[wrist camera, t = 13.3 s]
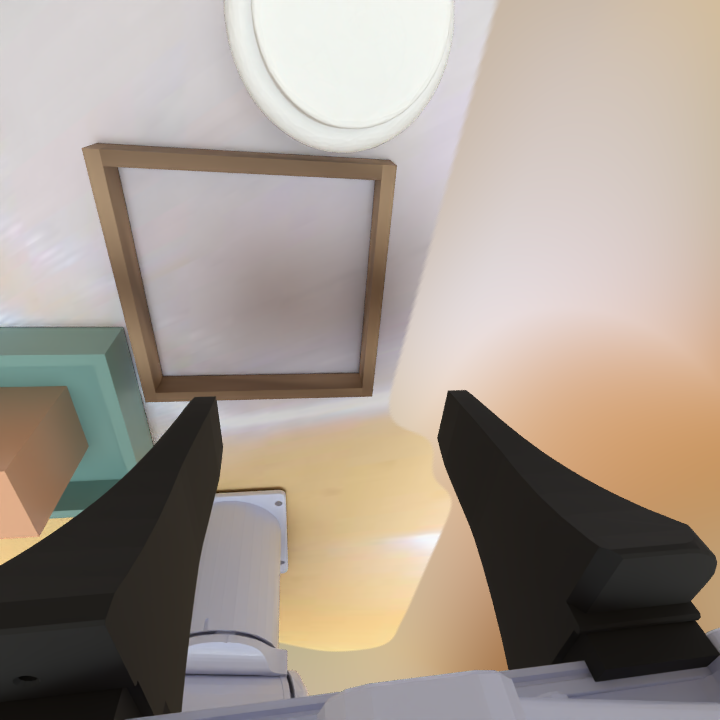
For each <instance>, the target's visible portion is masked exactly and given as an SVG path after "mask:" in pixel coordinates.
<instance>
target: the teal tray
mask: <svg viewBox="0 0 720 720" xmlns="http://www.w3.org/2000/svg"><path fill="white" fill-rule="evenodd" d="M41 386H67V388H68V391H69V393H70V396H71V399H72V402H73V404H74V407H75V410H76V413H77V415H78V418H79V421H80V424H81V426H82V429H83V432H84V435H85V437H86V440H87V443H88V446H89V447H88V449H87V451H86V452H85V454H84V456H83V458H82V460H81V462H80V463H79V465H78V467H77V469H76V471H75V472H74V474H73V476H72V478H71V480H70V482H69V483H68V485H67V487H66V489H65V491H64V492H63V494H62V496H61V498H60V500H59V501H58V503H57V505H56V507H55V509H54V511H53V512H52V514H51V516H50V518H66V517H76V516H77V515H78V514H79V513H81V512H82V511H83V510H85V509H86V508H87V507H89V506H90V505H91V504H92V503H94V502H95V501H96V500H97V499H99V498H100V497H101V496H102V495H104V494H105V493H106V492H107V491H108V490H109V489H110V488H112V487H113V486H114V485H115V484H116V483H117V482H118V481H119V480H120V479H122V478H123V477H124V476H125V475H126V474H127V473H128V472H129V471H130V470H131V469H132V468H133V467H134V466H135V465H136V464H137V463H138V462H139V461H140V460H141V459H142V458H143V457H144V456H145V455H146V454H147V453H148V451H149V450H150V449H151V448H152V447H153V442H152V438H151V434H150V430H149V427H148V423H147V419H146V415H145V411H144V407H143V403H142V399H141V396H140V392H139V388H138V384H137V380H136V376H135V372H134V368H133V364H132V361H131V357H130V353H129V349H128V345H127V341H126V337H125V333H124V329H123V327H0V387H41ZM50 518H49V519H50Z"/></svg>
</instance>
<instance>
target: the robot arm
mask: <svg viewBox="0 0 720 720" xmlns="http://www.w3.org/2000/svg"><path fill="white" fill-rule="evenodd" d="M438 442H439V446H440V450H441V454H442V458H443V461H444V465H445V468H446V470H447V473H448V475H449V478H450V480H451V483H452V485H453V487H454V490H455V492H456V495H457V497H458V499H459V502H460V504H461V506H462V509H463V511H464V514H465V516H466V518H467V521H468V523H469V525H470V528H471V531H472V533H473V536H474V539H475V542H476V545H477V548H478V552H479V555H480V559H481V562H482V565H483V568H484V572H485V576H486V579H487V583H488V586H489V590H490V594H491V598H492V601H493V605H494V609H495V613H496V618H497V622H498V625H499V630H500V634H501V637H502V642H503V646H504V651H505V656H506V660H507V665H508V669H509V670H507V671H499V672H497V671H495V670H473V671H465V672H457V673H449V674H441V675H434V676H425V677H418V678H409V679H402V680H393V681H386V682H378V683H370V684H365V685H361V686H357V687H353V688H349V689H346V690H343V691H341V692H335V693H327V694H320V695H313V696H309V693H308V690H307V688H306V686H305V685H304V683H303V681H302V679H301V677H300V675H299V673H297V671H294V670H287V650H284V649H278V644H279V602H280V573H285V572H286V571H288V546H287V517H286V494H285V492H284V491H282V490H266V491H249V492H231V493H216V490H217V486H218V482H219V477H220V469H221V461H222V452H223V443H222V436H221V429H220V422H219V414H218V407H217V400H216V396H209V397H194V398H193V399H192V400H191V401H190V402H189V404H188V405H187V406H186V407H185V409H184V410H183V411H182V413H181V414H180V415H179V416H178V418H177V419H176V420H175V421H174V423H173V424H172V425H171V426H170V428H169V429H168V430H167V431H166V432H165V433H164V435H163V436H162V437H161V438H160V439H159V440H158V442H157V443H156V444H155V445H154V446H153V447H152V448H151V449H150V450H149V451H148V453H147V454H146V455H145V456H144V457H143V458H142V459H141V460H140V461H139V462H138V463H137V464H136V465H135V466H134V467H133V468H132V469H131V470H130V471H129V472H128V473H127V474H126V475H125V476H124V477H123V478H122V479H120V480H119V481H118V482H117V483H116V484H115V485H114V486H113V487H112V488H110V489H109V490H108V491H107V492H106V493H105V494H104V495H102V496H101V497H100V498H99V499H97V500H96V501H95V502H94V503H92V504H91V505H90V506H89V507H87V508H86V509H85V510H83V511H82V512H81V513H79V514H78V515H77V516H76V517H74V518H73V519H72V520H70V521H69V522H67V523H66V524H65V525H63V526H62V527H60V528H59V529H57V530H56V531H55V532H53V533H52V534H50V535H49V536H47V537H46V538H44V539H43V540H41V541H40V542H38V543H37V544H35V545H33V546H32V547H30V548H29V549H27V550H26V551H24V552H22V553H21V554H19V555H17V556H16V557H14V558H12V559H11V560H9V561H7V562H6V563H4V564H2V565H0V720H720V628H718V629H714V630H711V631H709V632H707V633H706V634H705V633H704V631H703V630H702V629H701V628H700V626H699V625H698V623H697V622H696V621H695V620H699V619H700V617H701V616H700V613H699V611H698V610H697V609H696V607H695V606H694V605H693V603H692V602H691V600H692V599H693V598H694V597H695V596H696V595H697V593H698V592H699V591H700V590H701V589H702V588H703V587H704V586H705V585H706V583H707V582H708V581H709V580H710V579H711V577H712V576H713V574H714V573H715V569H716V565H717V560H716V557H715V555H714V554H713V553H712V552H711V551H710V550H709V548H708V547H707V546H706V545H705V544H704V543H703V541H702V540H701V539H700V538H699V537H698V536H697V535H696V533H695V532H694V531H693V530H692V529H691V528H690V527H689V526H688V525H686V524H684V523H681V522H679V521H676V520H674V519H671V518H669V517H666V516H664V515H661V514H659V513H656V512H653V511H651V510H648V509H646V508H644V507H641V506H639V505H637V504H635V503H633V502H630V501H628V500H626V499H624V498H622V497H619V496H618V495H616V494H614V493H611V492H609V491H608V490H606V489H604V488H602V487H599V486H598V485H596V484H594V483H592V482H591V481H589V480H587V479H585V478H583V477H581V476H580V475H578V474H576V473H575V472H573V471H571V470H570V469H568V468H566V467H565V466H563V465H562V464H560V463H559V462H557V461H555V460H554V459H552V458H551V457H549V456H548V455H546V454H545V453H544V452H542V451H540V450H539V449H538V448H537V447H535V446H534V445H532V444H531V443H530V442H528V441H527V440H526V439H524V438H523V437H522V436H521V435H519V434H518V433H517V432H515V431H514V430H513V429H512V428H510V427H509V426H508V425H507V424H506V423H504V422H503V421H502V420H501V419H500V418H498V417H497V416H496V415H495V414H494V413H492V412H491V411H490V410H489V409H488V408H487V407H486V406H484V405H483V404H482V403H481V402H480V401H479V400H478V399H476V398H475V397H474V396H473V395H472V394H470V393H469V392H468V391H466V390H461V391H460V390H456V391H448V393H447V398H446V402H445V406H444V411H443V416H442V420H441V424H440V429H439V433H438Z"/></svg>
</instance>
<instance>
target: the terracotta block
mask: <svg viewBox="0 0 720 720" xmlns="http://www.w3.org/2000/svg"><path fill="white" fill-rule="evenodd" d="M88 447H89V446H88V443H87V440H86V437H85V435H84V432H83V429H82V426H81V424H80V421H79V418H78V415H77V413H76V410H75V407H74V404H73V402H72V399H71V396H70V393H69V391H68V388H67V386H41V387H0V539H11V538H26V537H39V536H40V534H41V532H42V531H43V529H44V527H45V525H46V523H47V521H48V520H49V518H50V516H51V514H52V512H53V511H54V509H55V507H56V505H57V503H58V501H59V500H60V498H61V496H62V494H63V492H64V491H65V489H66V487H67V485H68V483H69V482H70V480H71V478H72V476H73V474H74V472H75V471H76V469H77V467H78V465H79V463H80V462H81V460H82V458H83V456H84V454H85V452H86V451H87V449H88Z"/></svg>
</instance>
